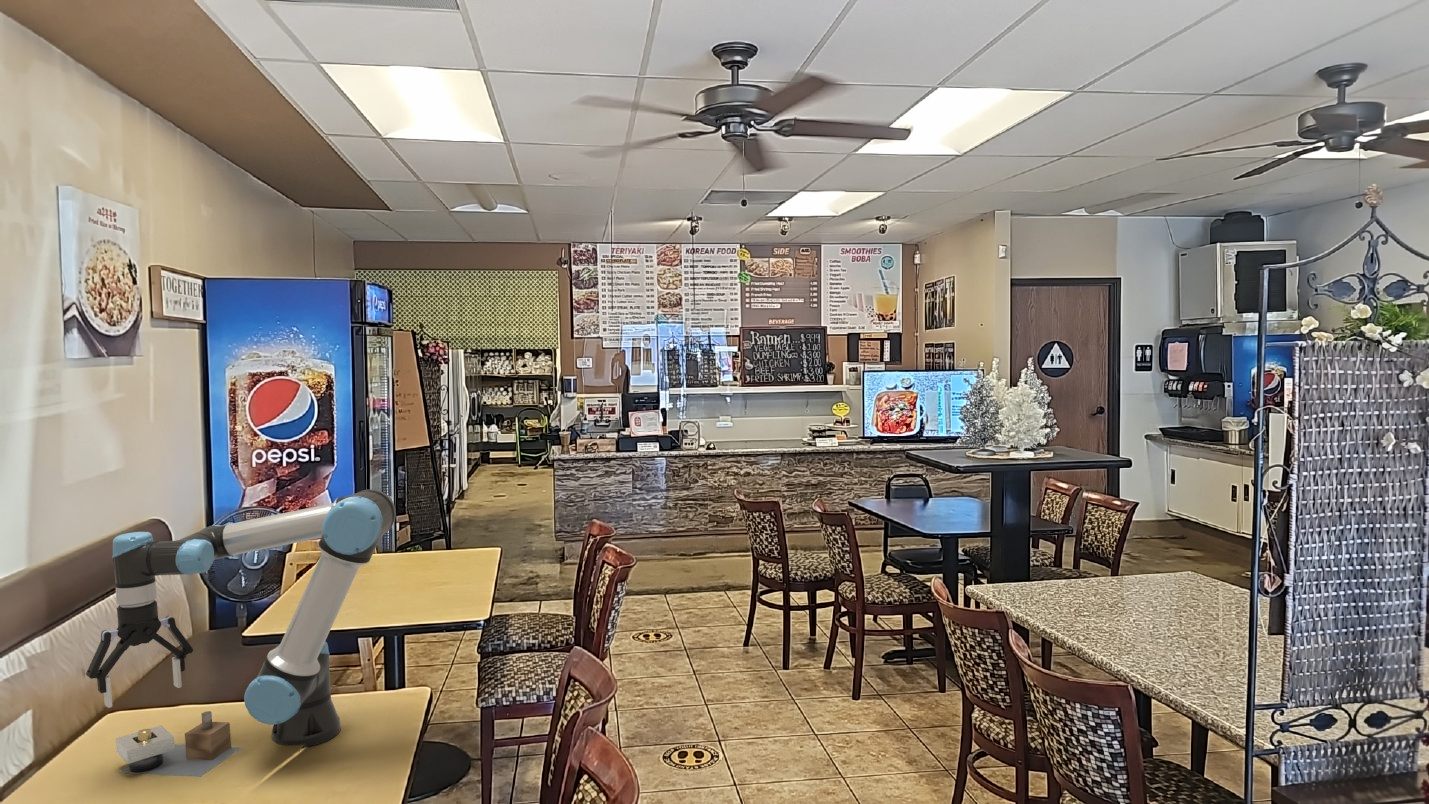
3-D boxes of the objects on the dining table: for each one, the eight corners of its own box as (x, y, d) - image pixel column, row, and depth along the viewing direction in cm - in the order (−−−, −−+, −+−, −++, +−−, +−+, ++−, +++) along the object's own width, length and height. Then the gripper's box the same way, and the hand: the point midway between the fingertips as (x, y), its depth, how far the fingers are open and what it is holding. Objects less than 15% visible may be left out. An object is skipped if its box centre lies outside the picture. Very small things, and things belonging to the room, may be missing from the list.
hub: (170, 759, 202) (167, 725, 201) (148, 773, 195) (146, 738, 195) (144, 758, 203) (142, 724, 202) (122, 771, 196) (119, 736, 196)
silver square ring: (174, 749, 199) (173, 736, 199) (128, 764, 192) (127, 750, 192) (162, 737, 205) (161, 725, 205) (116, 751, 199) (115, 738, 198)
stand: (231, 747, 207) (228, 707, 207) (212, 760, 201) (209, 719, 200) (206, 746, 208) (203, 706, 208) (186, 759, 202) (183, 718, 201)
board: (243, 751, 207) (242, 747, 207) (200, 781, 193) (200, 776, 193) (165, 747, 210) (165, 743, 210) (118, 776, 196) (118, 772, 196)
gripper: (192, 587, 209) (198, 675, 210) (64, 613, 190) (72, 710, 191) (204, 592, 204) (210, 682, 205) (74, 620, 185) (82, 719, 186)
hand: (144, 696), depth 198 cm, fingers open, 13 cm apart
